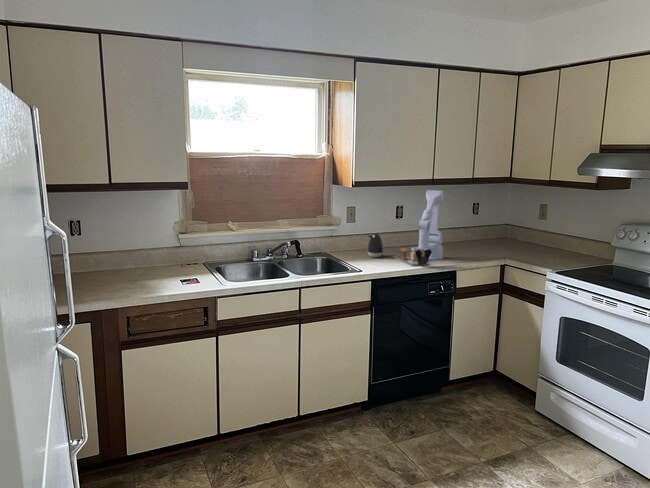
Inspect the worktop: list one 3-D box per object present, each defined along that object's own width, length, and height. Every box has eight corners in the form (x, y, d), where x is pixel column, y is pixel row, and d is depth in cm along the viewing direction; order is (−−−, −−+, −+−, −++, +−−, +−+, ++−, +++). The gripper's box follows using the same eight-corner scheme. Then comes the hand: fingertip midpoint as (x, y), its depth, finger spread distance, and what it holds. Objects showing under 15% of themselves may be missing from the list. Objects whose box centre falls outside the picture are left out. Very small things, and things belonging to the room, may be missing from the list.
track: (409, 256, 321) (409, 254, 321) (429, 264, 298) (429, 262, 298) (393, 257, 317) (393, 255, 317) (412, 266, 294) (412, 264, 294)
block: (415, 258, 306) (416, 251, 305) (419, 259, 302) (419, 253, 301) (410, 258, 305) (410, 252, 304) (413, 260, 301) (413, 253, 300)
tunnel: (413, 256, 316) (414, 247, 314) (420, 259, 308) (420, 249, 307) (397, 257, 312) (398, 248, 311) (403, 260, 304) (404, 250, 303)
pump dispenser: (364, 255, 320) (364, 232, 317) (378, 254, 324) (379, 231, 321) (370, 258, 311) (371, 235, 308) (385, 257, 315) (386, 234, 312)
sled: (416, 258, 308) (416, 250, 307) (428, 264, 294) (429, 256, 293) (406, 259, 306) (406, 251, 305) (418, 264, 292) (418, 256, 291)
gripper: (416, 242, 286) (415, 264, 288) (438, 240, 290) (436, 263, 293) (410, 239, 292) (409, 262, 295) (431, 238, 297) (430, 260, 299)
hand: (422, 262), depth 294 cm, fingers closed on sled, 4 cm apart
